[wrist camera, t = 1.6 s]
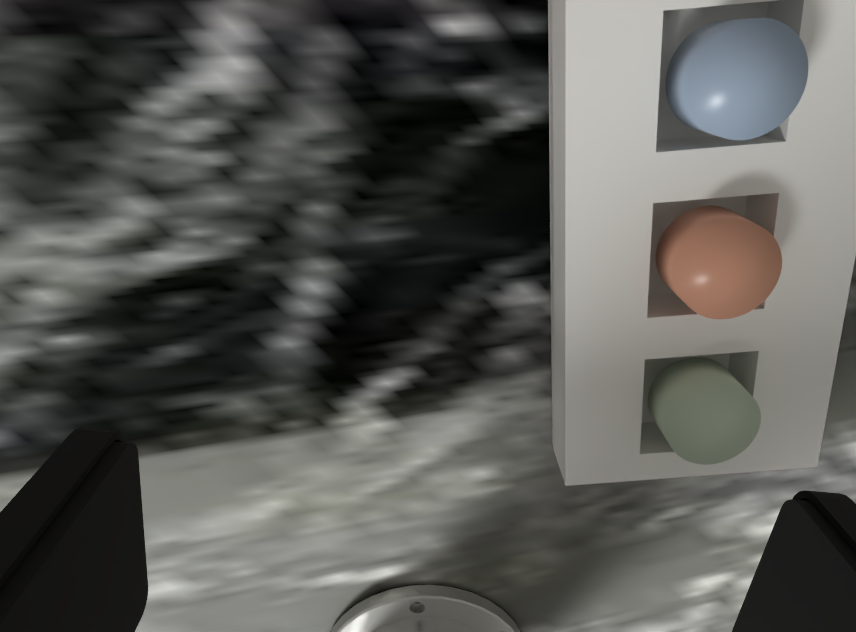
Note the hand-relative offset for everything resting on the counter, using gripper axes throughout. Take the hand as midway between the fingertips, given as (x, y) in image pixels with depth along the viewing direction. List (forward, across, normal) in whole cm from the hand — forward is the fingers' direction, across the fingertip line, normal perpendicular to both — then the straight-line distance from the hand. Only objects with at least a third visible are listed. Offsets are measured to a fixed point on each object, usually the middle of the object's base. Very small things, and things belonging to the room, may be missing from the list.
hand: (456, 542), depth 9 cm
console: (+22, -12, 0) cm, 24 cm away
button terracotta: (+19, -12, 0) cm, 22 cm away
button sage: (+19, -13, +7) cm, 24 cm away
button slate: (+19, -10, -7) cm, 23 cm away
